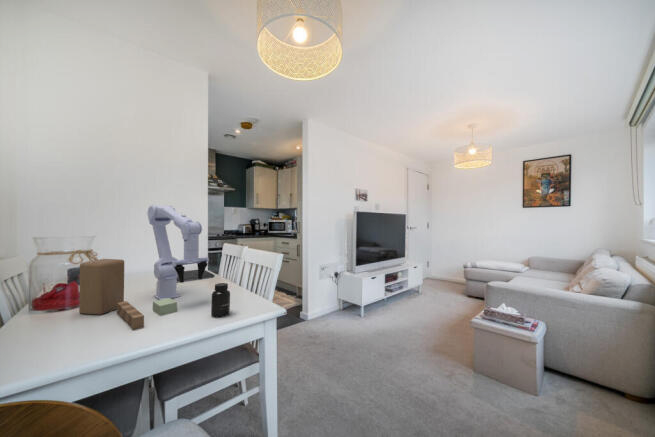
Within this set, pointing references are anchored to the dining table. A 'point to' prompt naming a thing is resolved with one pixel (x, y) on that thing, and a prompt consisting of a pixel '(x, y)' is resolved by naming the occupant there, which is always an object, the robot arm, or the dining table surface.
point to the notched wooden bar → (130, 315)
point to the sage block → (164, 306)
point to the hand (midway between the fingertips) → (191, 280)
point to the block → (101, 286)
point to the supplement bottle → (220, 300)
